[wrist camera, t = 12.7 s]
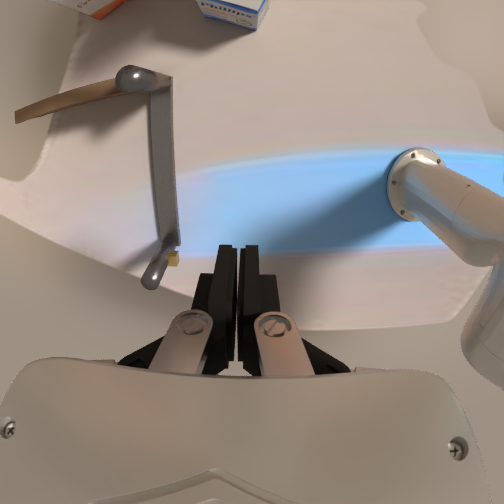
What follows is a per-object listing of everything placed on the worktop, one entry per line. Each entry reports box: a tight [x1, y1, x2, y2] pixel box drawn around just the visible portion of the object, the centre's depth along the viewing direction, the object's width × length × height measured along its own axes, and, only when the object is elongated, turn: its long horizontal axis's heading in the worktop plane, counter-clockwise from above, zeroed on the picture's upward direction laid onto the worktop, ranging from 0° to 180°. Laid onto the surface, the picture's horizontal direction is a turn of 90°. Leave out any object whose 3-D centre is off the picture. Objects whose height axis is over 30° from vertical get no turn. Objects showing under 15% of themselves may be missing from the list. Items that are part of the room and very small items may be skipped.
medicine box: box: [196, 0, 270, 31], centre depth 23 cm, size 8×4×9 cm, turn 68°
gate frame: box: [115, 65, 181, 290], centre depth 33 cm, size 4×27×12 cm, turn 179°
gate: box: [15, 78, 130, 124], centre depth 28 cm, size 2×20×6 cm, turn 89°
